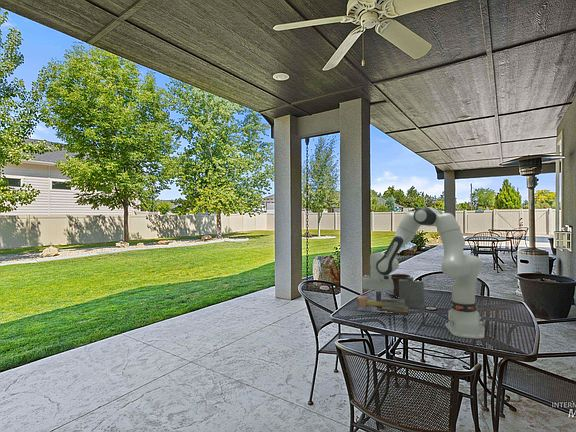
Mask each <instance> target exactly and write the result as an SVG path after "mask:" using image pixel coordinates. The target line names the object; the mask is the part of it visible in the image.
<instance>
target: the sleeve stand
mask: <svg viewBox="0 0 576 432" xmlns="http://www.w3.org/2000/svg"><path fill="white" fill-rule="evenodd" d="M381 300H382V307H381V306H375V307H377V308H378V309H377V310H379V309H380V310H379V311H387V312H393V313H400V314H399V315H402V314H407V315H406V316H408V315H409V307H408V306H405V300H399V298H397V299H396V298H384V297H383V298H382V297H381ZM373 307H374V306H373Z"/></svg>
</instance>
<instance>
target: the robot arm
mask: <svg viewBox="0 0 576 432" xmlns="http://www.w3.org/2000/svg"><path fill="white" fill-rule="evenodd" d="M421 226H427V227H435V228H436V230H437V231H438V235H439V238H440V241H441V244H442V246H443V248H442V249H443V261H442V263H441V271H442V273H443V274H444V275H445V276H446V277H447V278H454V279H455V280H454V282H453V284H452V285H451V300H450V309H449V310H448V322H445V324H444V326H445V327H446V329H447V330H448V332H450V333H451V334H452V335H453V336H454V337H459V338H466V339H478V340H480V339H485V330H486V329H485V326H483V325H484V322H483V321H481V320H482V317H481V316H480V312H479V311H478V309H477V307H478V305H477V303H476V283H477V281H478V277H479V274H480V272H481V270H482V268H483V262H482V259H481V258H479V256H476V255H473V254H464V247H465V245H466V241H465V238H464V235H463V232H462V230H461V227H460V226H459V223H458V221H457V219H456V217H455V215H453V214H452V213H449V212H444V213H442V211H441V210H440V209H438V208H434V207H431V206H421V207H418V208H417V209H416V210H414V211H408V212H407V213H406V214H404V216H403V217H402V219H401V221H400V223H399V224H398V226H397V229H396V231H395V234H394V235H393V238H392V240H391V242H390V244H389V245H388V247H387V249H386V251H385V252H383V251H382V250H378V251H372V252H371V253H370V256H369V266H370V274H369V275H367V274H364V275H362V276H361V281H362V284H361V287H362V289H363V290H368V291H369V292H370V295H371V297H374V296H375V293H374V292H372V291H373V290H374V291H383V292H384V293H382V297H383V298H385V297H386V294H387V291H390V292H391V291H392V292H394V291H393V290H394V284H393V280H392V279H391V275H392V273H393V272H395V271H396V270H398V269H399V268H400V267H399V266H400V263H399V260H398V258H396V257H397V255H398V253H399V251H400V250H401V249H403V247H404V246H405V245H408V244H409V243H411V241H412V240H413V239H414V237H415V236H416V234H417V232H418V230H419V229H420V227H421Z"/></svg>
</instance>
